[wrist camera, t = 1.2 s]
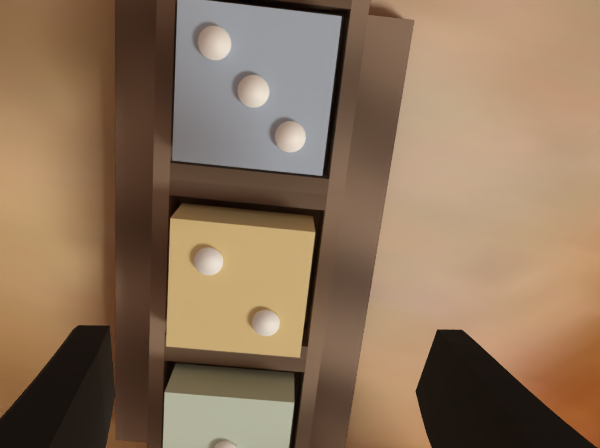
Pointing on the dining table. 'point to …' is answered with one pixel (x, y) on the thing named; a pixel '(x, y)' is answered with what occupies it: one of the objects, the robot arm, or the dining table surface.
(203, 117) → the three pip tile
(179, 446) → the one pip tile
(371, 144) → the brown tile tray
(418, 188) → the dining table surface
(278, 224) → the two pip tile
